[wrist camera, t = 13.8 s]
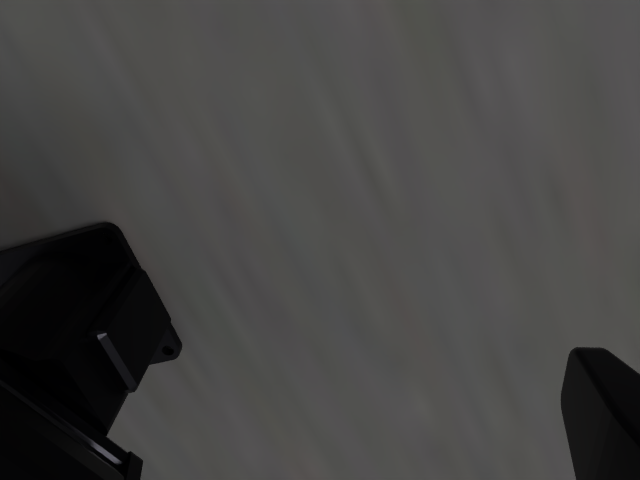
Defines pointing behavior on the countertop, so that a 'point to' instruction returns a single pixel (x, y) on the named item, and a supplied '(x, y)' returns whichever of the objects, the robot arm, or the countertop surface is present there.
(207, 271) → the countertop surface
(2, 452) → the robot arm
